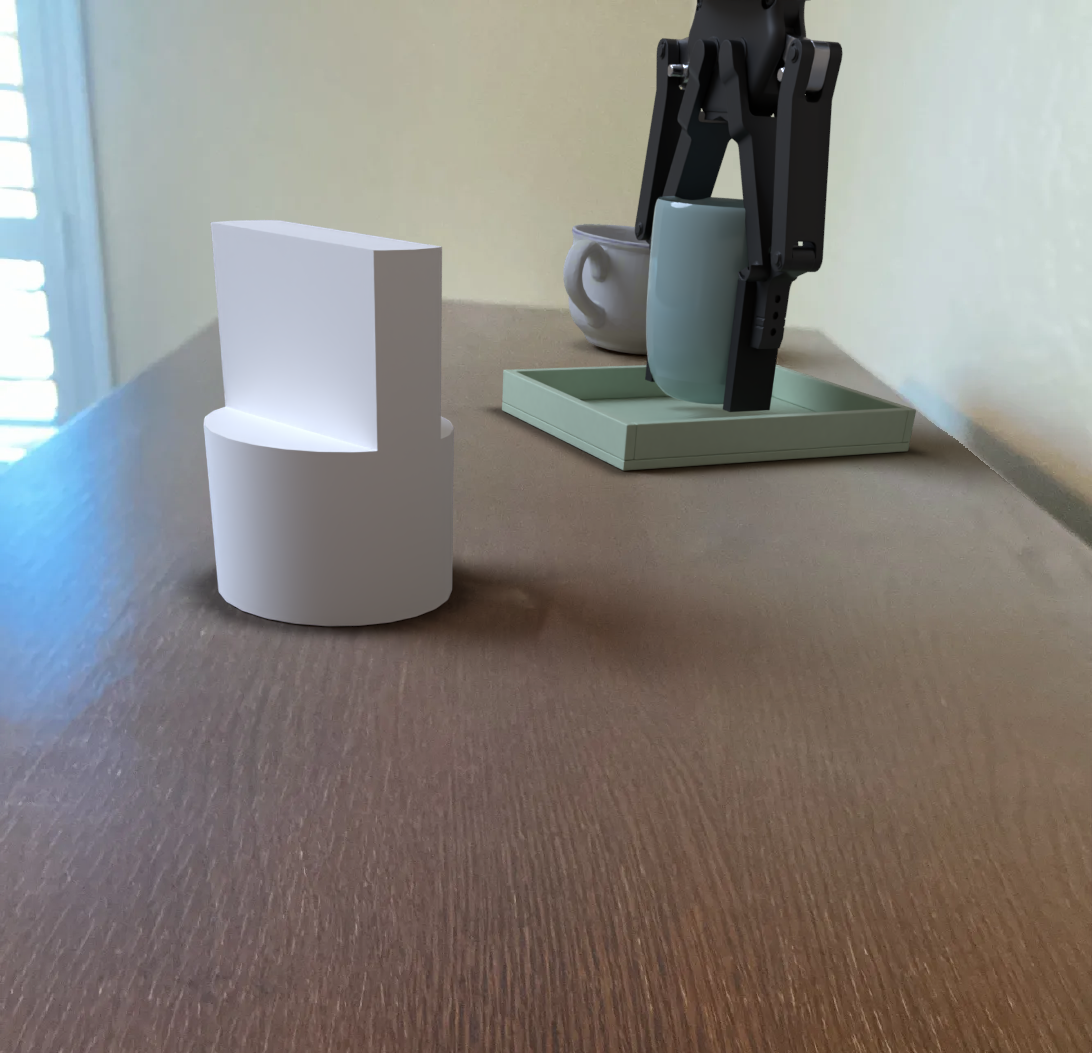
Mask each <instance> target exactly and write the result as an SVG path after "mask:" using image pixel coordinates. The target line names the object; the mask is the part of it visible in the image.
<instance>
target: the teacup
mask: <svg viewBox="0 0 1092 1053" xmlns="http://www.w3.org/2000/svg"><path fill="white" fill-rule="evenodd" d="M571 232H572V239H573V240H572V245H571V247H570V248H569V249H568V252H567V254H566V257H565V259H564V264H563V270H562V271H563V272H562V274H563V275H562V277H563V285H564V288H565V291H566V293H567V295H568V309H569V313H570V317H571V319H572V321H573V323H574V324H575V325H576V326H577V328H578V329H579V330H580V331H581V332H582V333H583V335H584V338H585V339H586V340H587V342H588V343H589V344H591V345H593V346H596V347H600V348H602V349H606V350H608V351H614V352H618V353H626V354H632V355H646V356H647V347H646V307H647V289H648V274H649V262H650V251H649V244H648V243H647V242H646V241H640V240H637V238H636V236H635V226H631V225H630V226H628V225H619V224H601V223H596V224H595V223H583V224H575V225H574V226H572V230H571Z"/></svg>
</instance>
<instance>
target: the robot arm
mask: <svg viewBox="0 0 1092 1053" xmlns="http://www.w3.org/2000/svg"><path fill="white" fill-rule="evenodd" d="M808 1H810V0H696V7H695V12H694V17H693V20H692V23H691V26H690V29H689V32H688V36H686V37H684V38H682V39H681V38H664V37H661V39H660V40H659V41H658V44H657V47H656V71H655V72H656V76H655V78H656V81H655V82H656V83H655V85H656V86H655V87H656V88H655V96H654V102H653V109H652V115H651V120H650V127H649V134H648V140H647V147H646V153H645V160H644V166H643V172H642V179H641V184H640V192H639V198H638V204H637V210H636V216H635V222H634V227H635V236H636V238H637V240H640V241H646V242H647V243H648V244H649V251H650V250H651V239H652V228H653V218H654V211H655V205H656V201H657V199H658V198H659V197H664V196H676V197H679V198H681V199H686V200H700V199H705V198H708V197H712V194H713V192H714V189H715V186H716V182H717V179H718V176H719V173H720V170H721V167H722V163H723V160H724V157H725V154H726V151H727V148H728V145H729V142H730V141H731V140H733V141H734V142H735V143H736V144H737V147H738V156H739V157H738V158H739V170H740V181H741V192H742V199H743V204H744V208H745V227H746V238H747V250H748V261H749V267H746V268H744V269H743V270H741V272H738V277H739V279H740V280H738V285H737V293H736V302H735V310H734V318H733V327H732V335H731V343H730V352H729V360H728V368H727V377H726V385H725V393H724V402H723V410H725V411H728V412H743V411H763V410H770V405H771V397H772V390H773V383H774V376H775V369H776V365H777V361H778V354H779V349H780V348H781V345H782V344H783V339H784V333H785V327H786V318H787V313H788V306H789V300H790V298H789V297H790V291H791V287H792V284H793V282H795V281H796V280H797V279H798V277H799V276H802V275H805V274H807V273H816V272H818V271H819V270H820V269H821V267H822V265H823V260H824V249H825V248H824V246H825V229H826V215H827V214H826V213H827V212H826V211H827V197H828V196H827V194H828V177H829V162H830V159H829V158H830V145H831V127H832V126H831V125H832V109H833V99H834V94H835V90H836V86H837V82H838V77H839V74H840V69H841V64H842V62H843V61H842V60H843V47H842V44H841V43H840V42H838V41H829V40H827V41H826V40H815V39H810V38H808V37H807V30H806V22H805V21H806V20H805V6H806V2H808ZM799 242H800V243H801V244H802V245H799ZM770 247H771V253H769V248H770ZM645 365H646V376H645V380H647V381H650V382H655V381H654V379H653V377H652V374H651V372H650V368H649V363H648V356H647V355H646V364H645Z"/></svg>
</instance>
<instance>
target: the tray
mask: <svg viewBox="0 0 1092 1053" xmlns="http://www.w3.org/2000/svg"><path fill="white" fill-rule="evenodd" d="M645 376H646V364H641V365H640V364H639V365H612V366H611V365H609V366H579V367H578V366H577V367H575V366H574V367H547V368H546V367H545V368H515V369H503V371H502V397H501V398H502V400H501V401H502V402H501V410H502V412H505V413H507V414H509V415H511V416H513V417H515V418H517V419H518V420H521V421H523V422H525V423H527V424H529V425H531V426H533V427H534V428H537V429H539V430H541V431H543V432H545V433H547V434H549V435H551V436H552V437H555V438H557V439H559V440H561V441H563V442H565V443H567V444H569V445H571V446H573V447H575V448H577V449H579V450H582V451H583V452H585V453H587V454H589V455H591V456H593V457H595V458H597V459H598V460H599V459H600V460H601V461H603V462H605V463H607V464H609V465H610V466H611V465H612V466H613V467H615V468H617V469H619V470H621V471H623V472H624V471H625V472H626V471H640V470H651V469H652V470H654V469H669V468H682V467H683V468H684V467H696V466H698V467H699V466H712V465H725V464H741V463H755V462H757V463H758V462H770V461H771V462H773V461H785V460H798V459H799V460H801V459H813V458H814V459H815V458H827V457H828V458H830V457H844V456H856V455H857V456H858V455H872V454H873V455H874V454H886V453H900V452H901V453H902V452H908V451H909V448H910V442H911V438H912V433H913V428H914V423H915V418H916V413H917V410H916V408H912V407H909V406H906V405H903V404H901V403H897V402H894V401H891V400H888V399H884V398H882V397H878V396H876V395H872V394H869V393H866V392H863V391H860V390H858V389H857V390H856V389H854V388H850V387H848V386H844V385H841V384H838V383H834V382H832V381H829V380H825V379H822V378H819V377H817V376H813V375H810V374H806V373H804V372H801V371H797V370H794V369H791V368H789V367H785V366H782V365H779V364H776V369H775V376H774V383H773V390H772V397H771V405H770V410H763V411H743V412H728V411H725V410H723V404H701V403H692V402H686V401H682V400H678V399H675V398H672V397H670V396H668V395H667V394H665V393H664V392H663V391H662V390H661V389H660V388H659V387H658V386H657V384H656V383H655V382H650V381H647V380H645Z"/></svg>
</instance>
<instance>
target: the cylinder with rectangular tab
mask: <svg viewBox="0 0 1092 1053" xmlns="http://www.w3.org/2000/svg"><path fill="white" fill-rule="evenodd" d="M210 230H211V231H210V232H211V243H212V244H211V246H212V257H213V258H212V259H213V270H214V282H215V283H214V284H215V293H216V294H215V295H216V307H217V321H218V331H219V344H220V345H219V346H220V356H221V369H222V370H221V371H222V382H223V395H224V406H223V407H220V408H217V409H214V410H212V411H211V412H209V413H208V414H207V415H205V416H204V418H203V434H204V445H205V456H206V466H207V478H208V490H209V501H210V511H211V512H210V513H211V521H212V522H211V524H212V532H213V544H214V555H215V565H216V566H215V568H216V578H217V589H218V590H217V591H218V593H219V594H220V596H221V597H222V599H224V601H225V602H226V603H228V604H229V605H231V606H233V607H236V608H237V609H238V610H240V611H242V612H244V613H248V614H251V615H254V616H258V617H260V618H264V619H268V620H273V621H278V622H284V623H289V624H294V625H295V624H296V625H308V626H309V625H310V626H322V627H352V626H353V627H357V626H359V627H360V626H367V625H369V626H370V625H377V624H387V623H394V622H397V621H402V620H407V619H411V618H416V617H418V616H421V615H423V614H427V613H429V612H431V611H434V610H436V609H437V608H439V607H440V606H442V605H443V604H444V603H446V602H447V601H448V600H449V598H450V596H451V593H452V591H453V559H454V558H453V556H454V555H453V554H454V553H453V552H454V551H453V549H454V547H453V546H454V476H455V475H454V473H455V472H454V471H455V470H454V467H455V463H454V462H455V427H454V425H453V423H452V422H451V420H449V419H448V418H446V417H445V416H442V332H443V330H442V329H443V328H442V325H443V324H442V322H443V321H442V318H443V315H442V314H443V312H442V311H443V307H442V306H443V297H442V296H443V246H440V245H434V244H429V243H421V242H415V241H409V240H404V239H397V238H391V237H385V236H378V235H372V234H367V233H366V234H365V233H360V232H355V231H348V230H341V229H335V228H329V227H323V226H317V225H312V224H311V225H310V224H305V223H300V222H299V223H298V222H293V221H286V220H280V219H252V220H251V219H247V220H246V219H242V220H221V221H219V220H218V221H211V222H210Z"/></svg>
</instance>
